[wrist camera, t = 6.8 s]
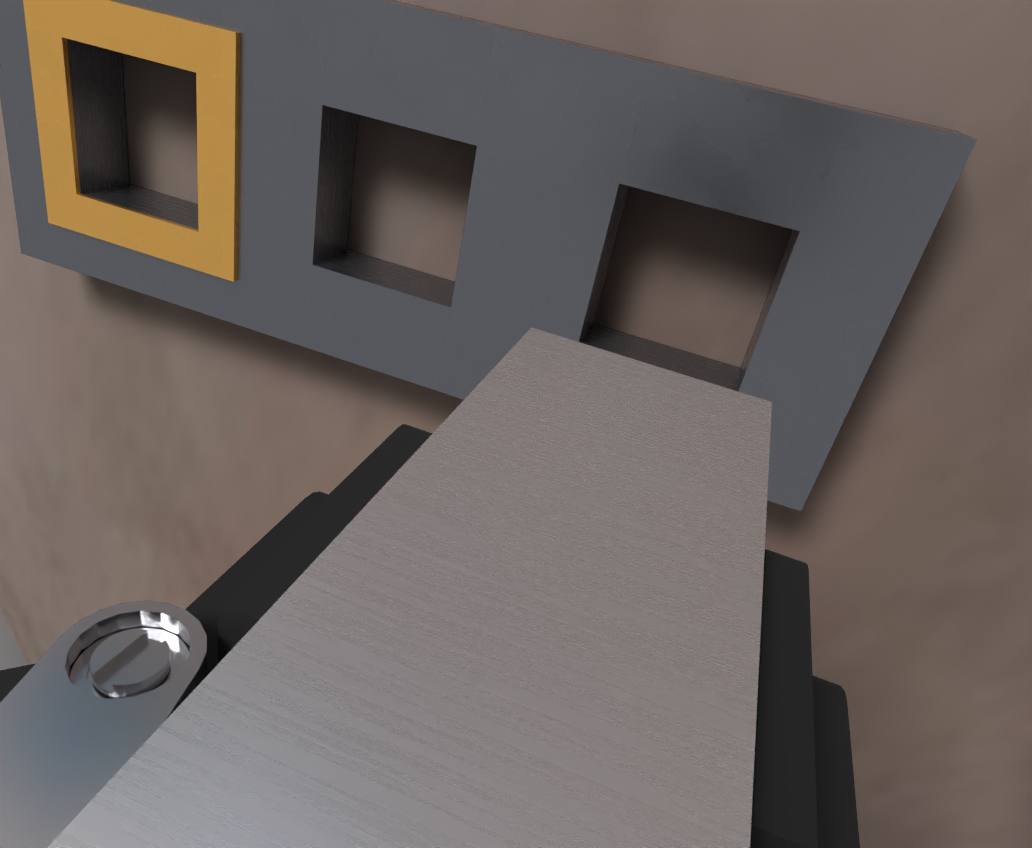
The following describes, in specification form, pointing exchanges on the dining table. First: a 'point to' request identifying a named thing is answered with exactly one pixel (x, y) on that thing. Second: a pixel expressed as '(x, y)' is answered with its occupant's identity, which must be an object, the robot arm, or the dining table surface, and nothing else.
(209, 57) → the rail
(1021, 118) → the dining table surface
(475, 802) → the steel peg
